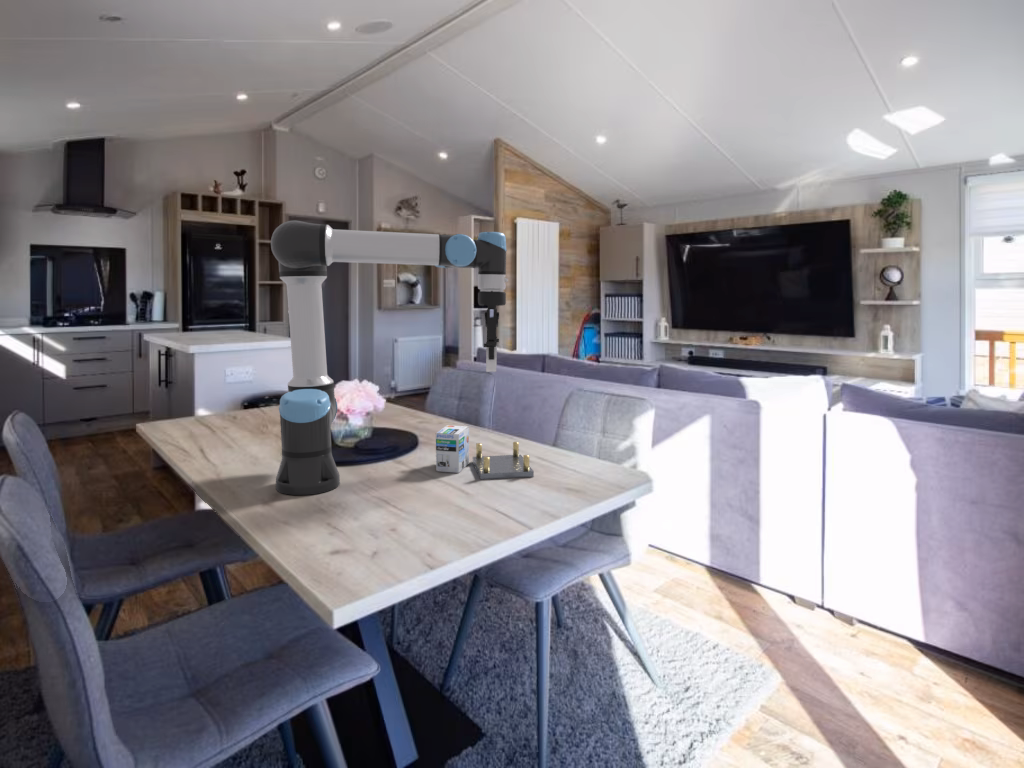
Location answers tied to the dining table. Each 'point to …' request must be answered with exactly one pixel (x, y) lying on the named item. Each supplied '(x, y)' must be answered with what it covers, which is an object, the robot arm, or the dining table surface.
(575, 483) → the dining table surface
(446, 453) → the light bulb box
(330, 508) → the dining table surface
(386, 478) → the dining table surface
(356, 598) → the dining table surface
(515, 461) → the chassis
